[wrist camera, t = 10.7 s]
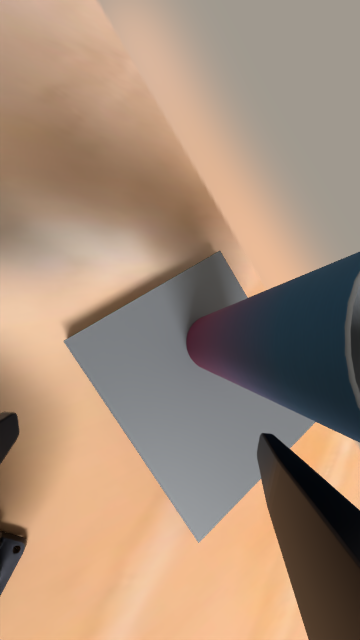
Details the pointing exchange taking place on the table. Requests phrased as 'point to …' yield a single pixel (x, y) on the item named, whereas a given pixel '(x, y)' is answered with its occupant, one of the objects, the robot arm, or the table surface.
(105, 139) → the table surface
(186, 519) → the board
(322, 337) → the cup
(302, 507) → the robot arm
